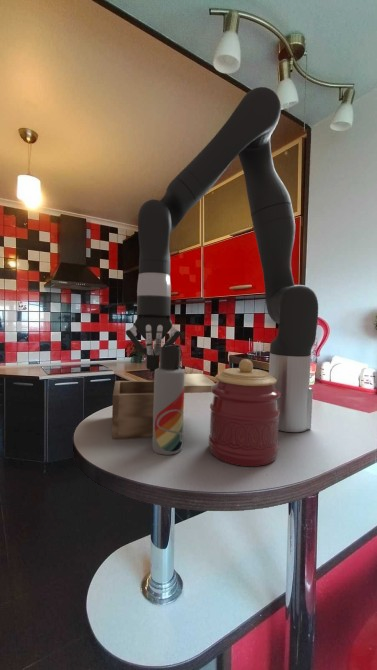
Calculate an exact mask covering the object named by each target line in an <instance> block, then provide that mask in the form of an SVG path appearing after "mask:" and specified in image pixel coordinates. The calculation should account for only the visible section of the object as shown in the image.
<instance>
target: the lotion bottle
mask: <svg viewBox="0 0 377 670" xmlns="http://www.w3.org/2000/svg"><path fill="white" fill-rule="evenodd" d="M159 363H160V368H158V369H156V370H155V372H153V373H154V375H153V376H154V378H153V381H154V408H153V437H152V449H153V451H154V452H155V453H157V454H159V455H168V456H169V455H175V454H178V453H180V452H181V451H182V450H183V442H184V441H183V440H184V439H183V437H184V407H185V406H184V405H185V393H184V381H185V374H186V373H185V370H184V369H182V368H181V347H180V345H179V344H173V345H167V346H163V345H162V346H160V356H159Z"/></svg>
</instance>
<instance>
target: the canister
mask: <svg viewBox="0 0 377 670" xmlns="http://www.w3.org/2000/svg"><path fill="white" fill-rule="evenodd" d="M214 378H215V380H217V381H216V383H215V385H213V386H212V387H211V392H210V393H212V402H211V403H210V404H209V408H210V421H209V422H210V423H209V435H208V445H209V451H210V452H211V454H212V455H213V456H214V457H215V458H217V459H219V460H221V461H223V462H225V463H228V464H231V465H235V466H242V467H259V466H265V465H266V466H267V465H268V464H271V463H272V462H274V461H275V460H276V458H277V455H278V452H279V445H280V443H279V441H278V440H279V430H278V425H279V414H280V410H279V408H278V401H277V400H278V398H279V397H280V396H281V392H280V391H279V390H278V389H276V388H275V386H274V384H275V383H276V382H277V380H276V379H275V378H274V377H272V376H271V375H270V374H269V371H266V370H261V369H257V368H254V362H252V360H250V359H249V358H244V359H241V360H240V361H239V364H238V367H231V368H225V369H223V370H222V371H221V372H220V373H219V372H218V373H217V374H216V375H215V377H214Z"/></svg>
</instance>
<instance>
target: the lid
mask: <svg viewBox="0 0 377 670" xmlns="http://www.w3.org/2000/svg"><path fill="white" fill-rule="evenodd" d="M159 368H160V362H159ZM215 384H216V383H215V382H214V381H213V380H211V379H210V378H208V377H207V376H206V375H205V374H203V373H185V381H184V394H192V393H194V394H195V393H197V394H198V393H200V394H202V393H206V394H207V393H212V392H211V387H212V386H213V385H215Z"/></svg>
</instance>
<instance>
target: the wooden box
mask: <svg viewBox="0 0 377 670" xmlns="http://www.w3.org/2000/svg"><path fill="white" fill-rule="evenodd" d="M153 408H154V380H115V382H114V387H113V392H112V415H111V417H112V418H111V419H112V420H111V421H112V423H111V439H112V440H119V439H120V440H123V439H142V438H144V439H145V438H153Z"/></svg>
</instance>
